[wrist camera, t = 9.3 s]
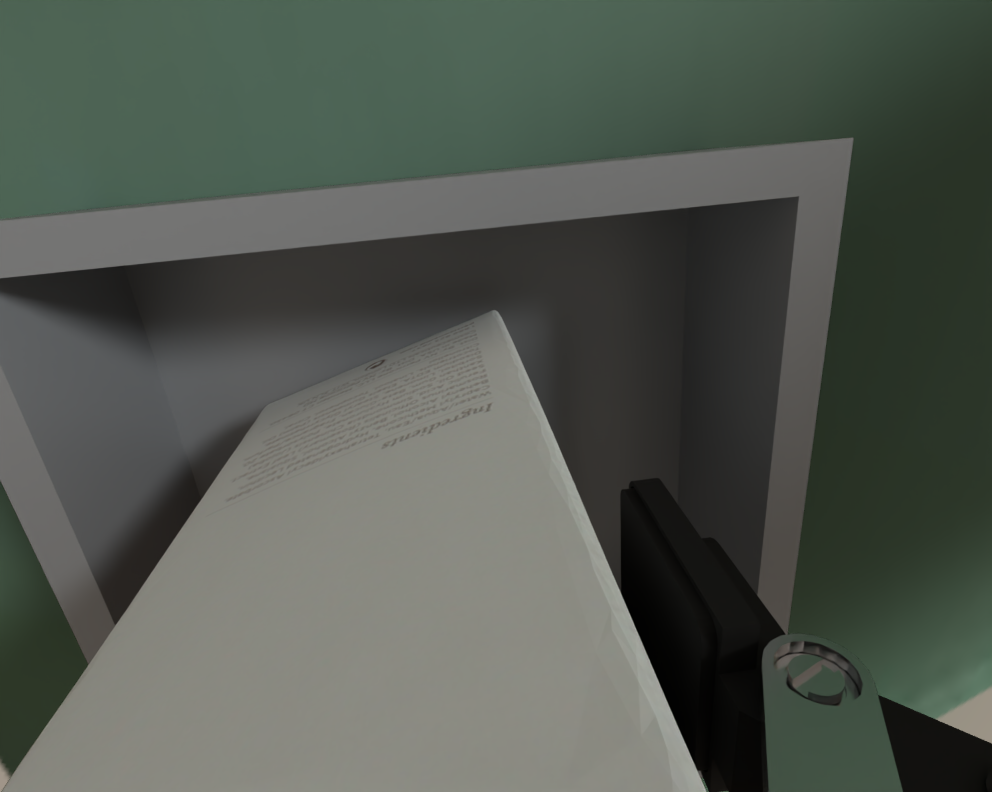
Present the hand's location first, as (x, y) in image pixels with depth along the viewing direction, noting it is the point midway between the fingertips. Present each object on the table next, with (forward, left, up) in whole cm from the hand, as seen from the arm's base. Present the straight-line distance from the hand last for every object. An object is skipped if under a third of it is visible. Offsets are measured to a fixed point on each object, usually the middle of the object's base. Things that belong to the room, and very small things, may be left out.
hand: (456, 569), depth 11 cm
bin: (0, 0, -5) cm, 5 cm away
